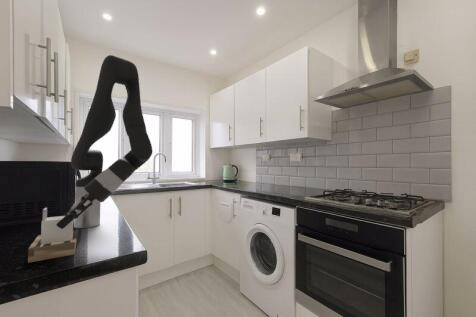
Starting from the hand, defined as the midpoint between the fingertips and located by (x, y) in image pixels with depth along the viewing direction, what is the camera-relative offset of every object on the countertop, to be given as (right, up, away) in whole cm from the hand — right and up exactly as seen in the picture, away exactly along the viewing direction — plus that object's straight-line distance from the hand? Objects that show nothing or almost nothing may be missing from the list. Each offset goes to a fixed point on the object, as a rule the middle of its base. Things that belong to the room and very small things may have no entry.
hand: (60, 223), depth 69 cm
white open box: (0, -6, -1) cm, 6 cm away
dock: (-1, -8, -1) cm, 8 cm away
